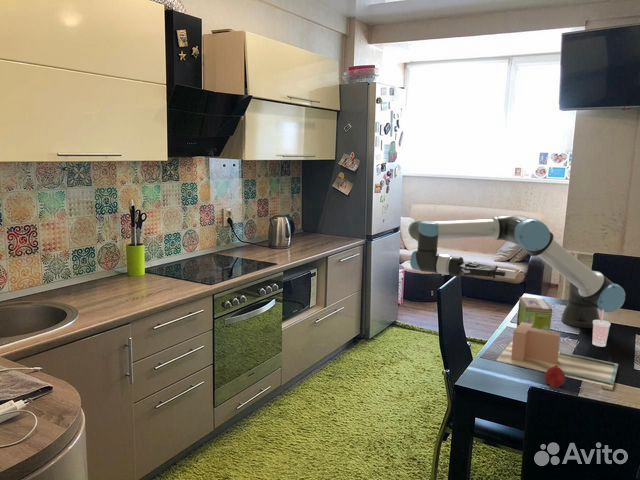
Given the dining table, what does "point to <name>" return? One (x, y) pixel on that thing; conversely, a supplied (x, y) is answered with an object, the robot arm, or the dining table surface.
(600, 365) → the board
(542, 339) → the tee
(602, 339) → the beverage cup
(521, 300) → the tea box
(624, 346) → the dining table surface
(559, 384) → the red pomegranate
